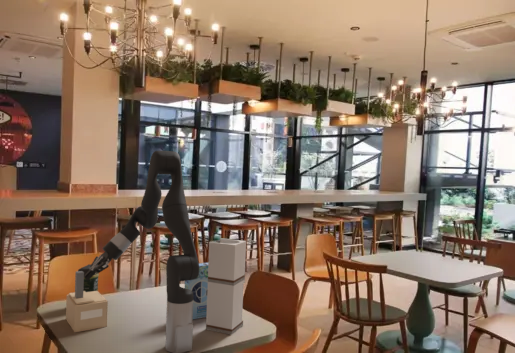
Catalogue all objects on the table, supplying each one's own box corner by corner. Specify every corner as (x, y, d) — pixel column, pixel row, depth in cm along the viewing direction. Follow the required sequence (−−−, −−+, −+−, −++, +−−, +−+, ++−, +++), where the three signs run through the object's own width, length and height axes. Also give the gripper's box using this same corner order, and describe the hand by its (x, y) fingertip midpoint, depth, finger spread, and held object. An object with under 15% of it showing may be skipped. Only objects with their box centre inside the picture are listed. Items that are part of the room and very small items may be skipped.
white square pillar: (242, 325, 172) (246, 241, 171) (231, 334, 162) (235, 245, 161) (218, 320, 176) (221, 238, 175) (205, 329, 166) (209, 242, 165)
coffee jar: (91, 310, 182) (92, 268, 181) (73, 310, 182) (74, 267, 181) (100, 303, 191) (101, 263, 191) (83, 302, 191) (84, 262, 191)
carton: (107, 326, 165) (107, 300, 165) (74, 332, 158) (75, 305, 158) (96, 313, 178) (96, 290, 178) (65, 318, 171) (66, 294, 171)
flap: (93, 301, 163) (94, 275, 162) (76, 304, 159) (77, 276, 159) (84, 292, 174) (85, 267, 174) (68, 294, 170) (69, 268, 170)
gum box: (222, 310, 189) (224, 259, 189) (228, 313, 185) (230, 262, 185) (182, 317, 179) (184, 264, 178) (187, 321, 174) (189, 266, 174)
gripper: (106, 237, 178) (74, 269, 171) (115, 243, 167) (82, 276, 160) (118, 249, 181) (88, 280, 174) (128, 254, 170) (96, 288, 164)
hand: (85, 278), depth 167 cm, fingers closed
